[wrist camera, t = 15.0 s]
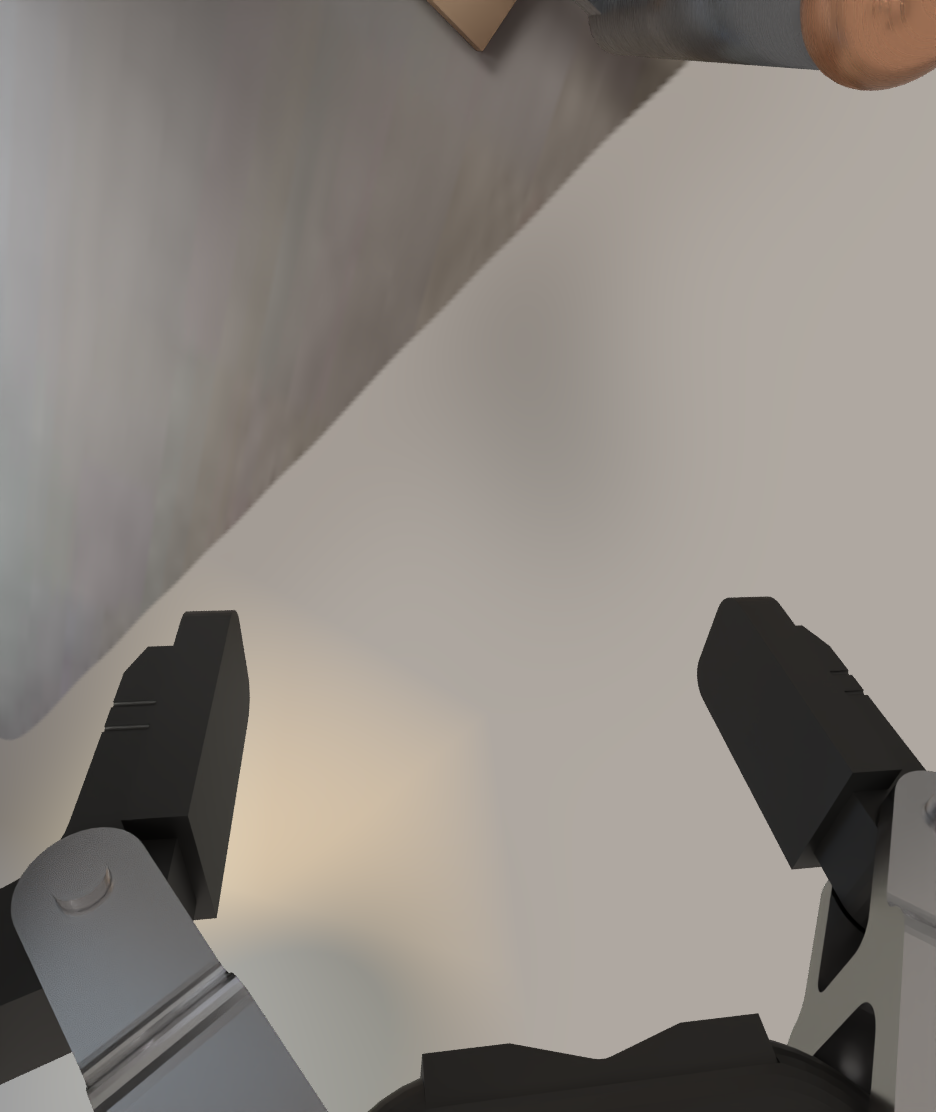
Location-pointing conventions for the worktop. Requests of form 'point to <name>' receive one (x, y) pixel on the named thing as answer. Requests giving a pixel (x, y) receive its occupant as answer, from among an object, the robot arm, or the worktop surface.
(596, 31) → the lever
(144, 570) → the worktop surface
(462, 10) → the cracker base
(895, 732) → the robot arm
